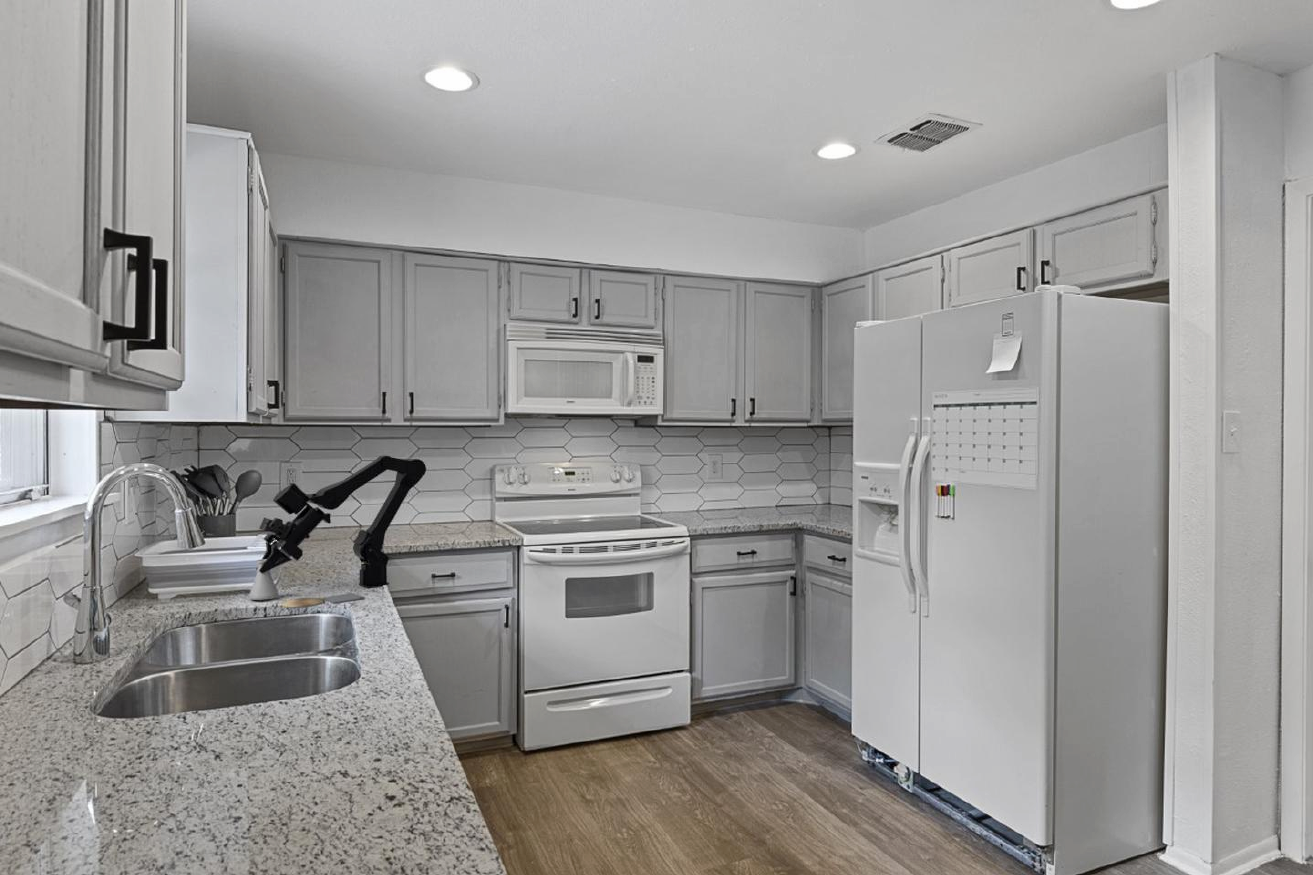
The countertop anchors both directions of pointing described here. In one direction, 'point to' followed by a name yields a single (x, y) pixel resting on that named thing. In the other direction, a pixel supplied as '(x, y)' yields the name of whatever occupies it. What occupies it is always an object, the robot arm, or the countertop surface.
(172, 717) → the countertop surface
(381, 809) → the countertop surface
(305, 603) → the cork trivet
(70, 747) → the countertop surface
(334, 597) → the slate coaster
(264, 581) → the flask
